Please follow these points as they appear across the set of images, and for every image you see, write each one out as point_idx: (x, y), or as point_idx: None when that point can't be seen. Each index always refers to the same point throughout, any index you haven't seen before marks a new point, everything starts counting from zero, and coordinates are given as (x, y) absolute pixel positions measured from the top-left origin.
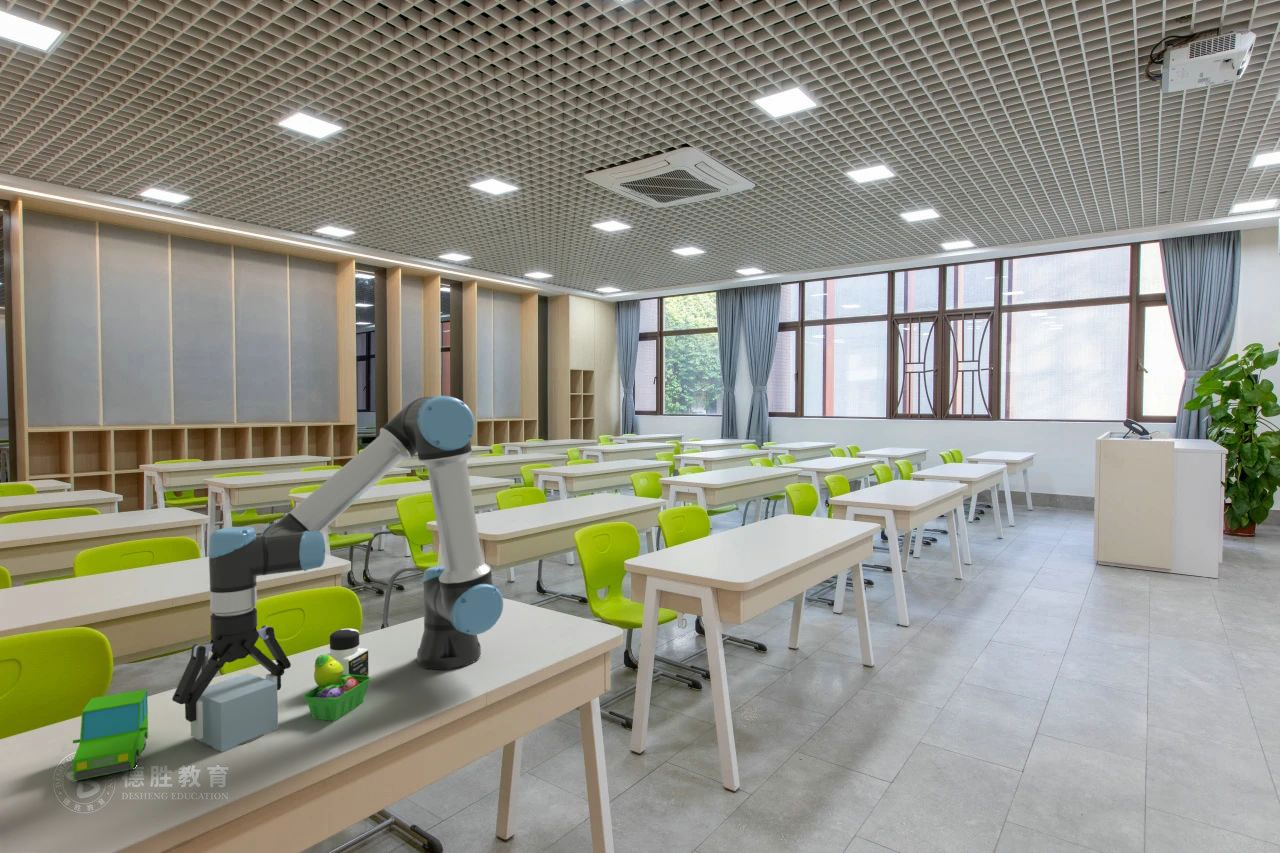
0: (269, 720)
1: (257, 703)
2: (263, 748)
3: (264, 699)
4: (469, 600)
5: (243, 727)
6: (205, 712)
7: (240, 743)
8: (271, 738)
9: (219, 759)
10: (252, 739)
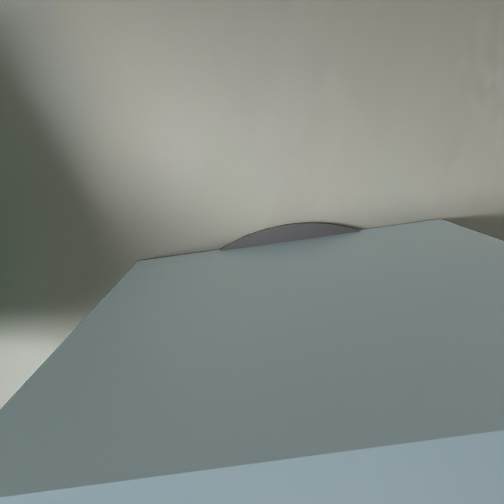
0: (173, 275)
1: (257, 340)
2: (286, 71)
3: (177, 358)
4: None
5: (350, 261)
6: None
7: (346, 230)
8: (205, 169)
9: (487, 140)
10: (286, 228)
